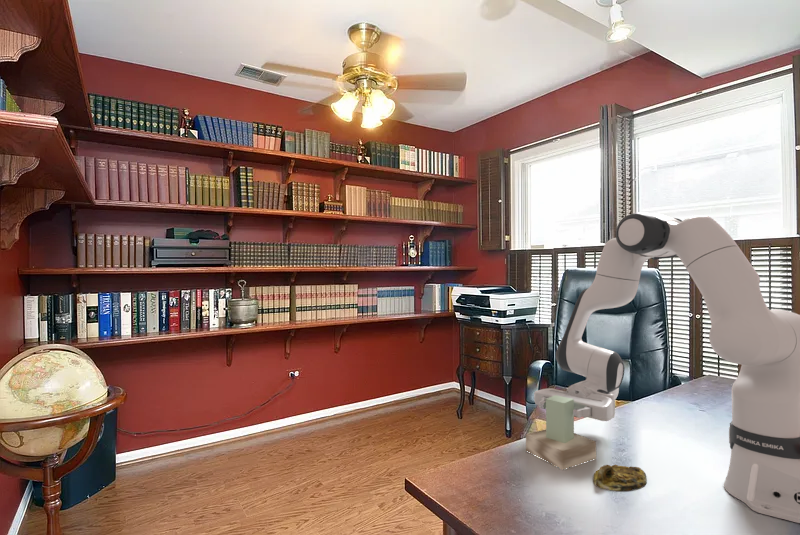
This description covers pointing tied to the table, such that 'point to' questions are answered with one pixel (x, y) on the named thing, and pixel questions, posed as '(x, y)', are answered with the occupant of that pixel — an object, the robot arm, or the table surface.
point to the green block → (559, 418)
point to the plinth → (561, 449)
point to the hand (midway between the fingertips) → (557, 409)
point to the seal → (619, 478)
